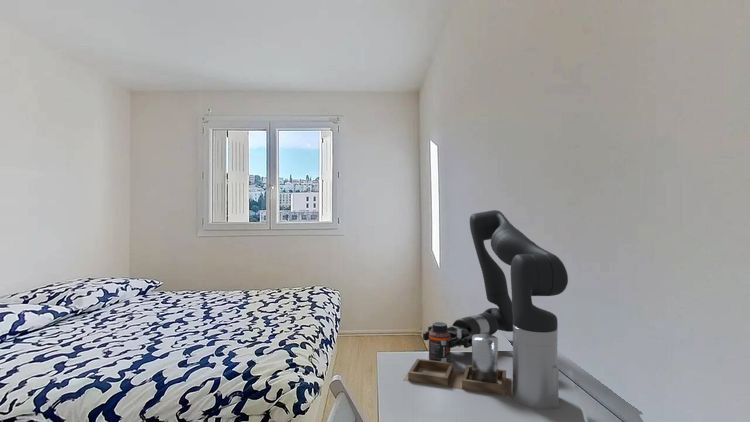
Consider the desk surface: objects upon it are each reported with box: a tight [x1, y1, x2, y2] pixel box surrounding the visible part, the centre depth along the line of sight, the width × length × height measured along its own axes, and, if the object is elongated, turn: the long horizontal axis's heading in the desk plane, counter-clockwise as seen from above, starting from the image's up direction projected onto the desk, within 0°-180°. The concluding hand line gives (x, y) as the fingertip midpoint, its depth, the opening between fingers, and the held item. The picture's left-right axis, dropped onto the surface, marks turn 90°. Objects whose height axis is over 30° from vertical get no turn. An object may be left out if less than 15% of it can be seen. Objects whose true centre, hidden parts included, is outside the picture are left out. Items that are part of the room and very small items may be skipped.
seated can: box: [471, 334, 499, 384], centre depth 95 cm, size 6×6×11 cm
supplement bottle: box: [428, 321, 451, 363], centre depth 110 cm, size 6×6×11 cm
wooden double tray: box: [403, 358, 512, 398], centre depth 97 cm, size 25×10×3 cm, turn 70°
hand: (435, 340), depth 109 cm, fingers open, 8 cm apart
